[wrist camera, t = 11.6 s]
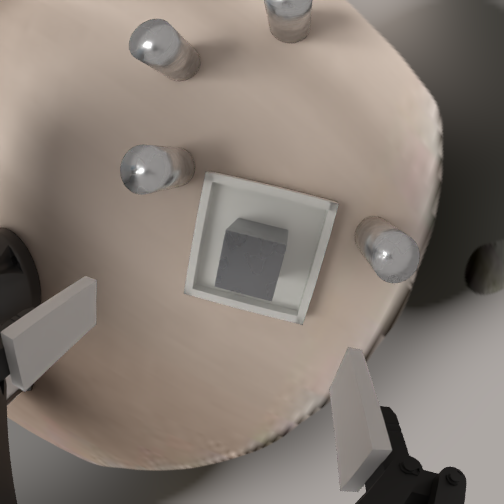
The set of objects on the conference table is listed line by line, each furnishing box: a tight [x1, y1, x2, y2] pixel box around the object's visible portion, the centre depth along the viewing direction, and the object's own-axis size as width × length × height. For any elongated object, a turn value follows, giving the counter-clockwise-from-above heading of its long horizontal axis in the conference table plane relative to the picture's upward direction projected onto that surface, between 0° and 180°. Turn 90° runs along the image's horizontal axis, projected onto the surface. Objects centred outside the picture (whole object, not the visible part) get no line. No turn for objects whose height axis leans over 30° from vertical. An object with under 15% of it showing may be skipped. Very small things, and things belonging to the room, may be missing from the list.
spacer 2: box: [120, 145, 195, 194], centre depth 28 cm, size 4×4×8 cm
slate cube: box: [215, 218, 288, 301], centre depth 29 cm, size 5×5×6 cm
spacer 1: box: [129, 19, 200, 81], centre depth 25 cm, size 4×4×8 cm
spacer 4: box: [355, 216, 420, 283], centre depth 27 cm, size 4×4×8 cm
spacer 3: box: [264, 0, 312, 43], centre depth 22 cm, size 4×4×8 cm
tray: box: [184, 171, 339, 325], centre depth 32 cm, size 13×13×2 cm
